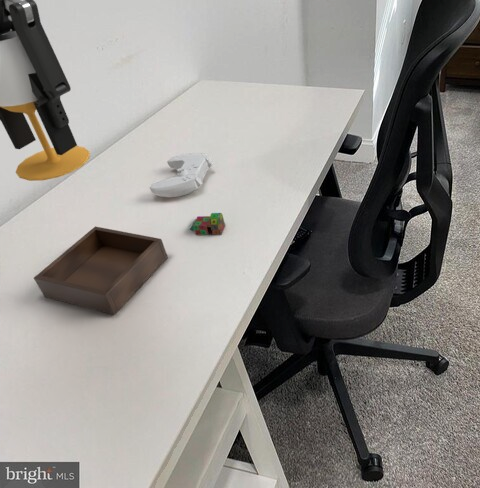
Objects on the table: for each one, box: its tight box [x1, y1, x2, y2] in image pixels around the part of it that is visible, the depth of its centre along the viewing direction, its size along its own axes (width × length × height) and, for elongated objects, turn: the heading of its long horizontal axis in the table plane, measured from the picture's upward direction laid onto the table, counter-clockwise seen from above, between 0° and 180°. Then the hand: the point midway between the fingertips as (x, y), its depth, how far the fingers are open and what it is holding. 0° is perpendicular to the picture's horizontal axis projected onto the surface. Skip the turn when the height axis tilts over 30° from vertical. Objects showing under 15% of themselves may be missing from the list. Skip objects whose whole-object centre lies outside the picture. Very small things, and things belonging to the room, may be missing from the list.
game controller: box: [149, 152, 214, 198], centre depth 99 cm, size 14×4×10 cm
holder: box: [33, 226, 169, 316], centre depth 76 cm, size 14×14×4 cm
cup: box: [0, 29, 91, 182], centre depth 58 cm, size 9×9×16 cm
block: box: [190, 212, 226, 236], centre depth 85 cm, size 6×4×3 cm
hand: (46, 146), depth 62 cm, fingers closed on cup, 6 cm apart
